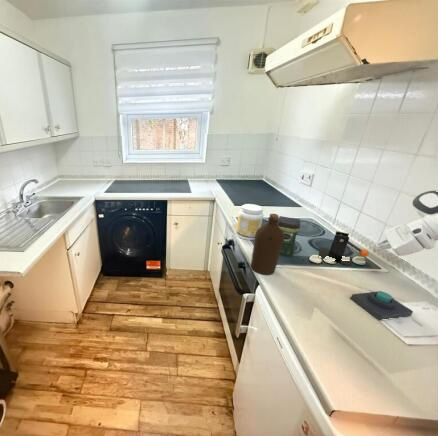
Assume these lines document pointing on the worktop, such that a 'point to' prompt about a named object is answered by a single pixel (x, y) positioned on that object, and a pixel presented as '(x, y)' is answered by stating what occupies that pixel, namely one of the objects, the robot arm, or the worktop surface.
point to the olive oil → (267, 247)
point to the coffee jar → (288, 234)
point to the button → (384, 297)
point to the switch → (358, 249)
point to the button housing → (380, 306)
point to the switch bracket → (337, 249)
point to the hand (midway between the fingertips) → (375, 247)
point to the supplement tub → (249, 221)
